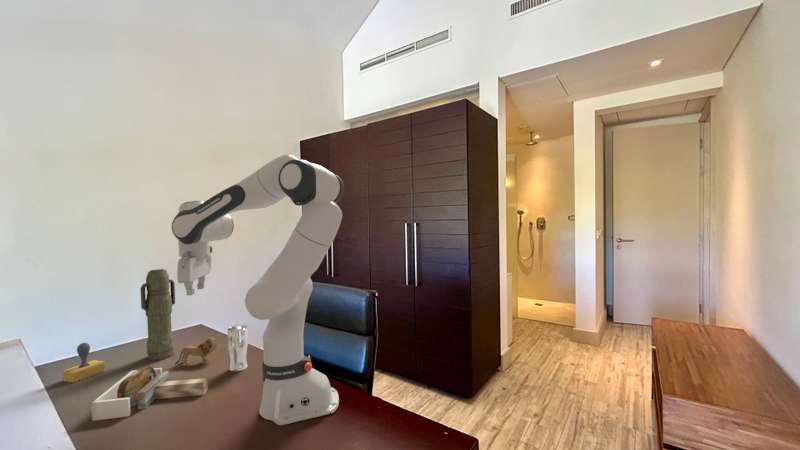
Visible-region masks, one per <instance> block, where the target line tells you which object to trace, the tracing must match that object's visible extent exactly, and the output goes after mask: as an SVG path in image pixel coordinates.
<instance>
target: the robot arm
mask: <svg viewBox="0 0 800 450" xmlns="http://www.w3.org/2000/svg"><path fill="white" fill-rule="evenodd" d="M344 193H345V184H344V181H343V180H342V179H341V177H340V176H339V175H338V174H336V172H333V171H330V170H328V169H327V168H325V167H324V166H322V165H319V164H316V163H313V162H310V161H307V160H306V159H299V158H297V157H296V156H294V155H292V154H283V155H280V156H278V157H275V158H273V159H271V161H269V162H267V163H265V164H263V166H261V167H259V168H258V169H257V170H256V171H254V172H253V173H252V174H250V175H248V176H247V177H245V178H243V179H242V180H240V181H239V182H236V183H234V184H232V185H231V186H229V187H227V188H225V189H223V190H222V191H220V192H218V193H216V194H214V195H213V196H212V197H210V198H208V199H207V200H205V201H202V200H192V201H191V200H190V201H186V202H183V203H181V204H180V205H179V208H178V212H177V214H176V215H175V216H174V218H173V221H172V222H171V231H172V234H173V236H174V237H175V239H177V240H178V243H177V244H178V257H180V258H179V260H178V261H177V270H176V272H177V273H176V274H177V275H176V278H177V279H176V280H177V282H178V284H184V287H185V290H186V296H193V295H195V288H194V286H193V285H194V281H196V280H197V287H196V288H197V290H203V289H204V288H205V281H206V275H209V274H210V273H211V269H212V253H213V251H214V249H213V246H211V245H210V242H215V241H222V240H226V239H228V238H229V237H231V236H232V234H233V231H234V227H235V225H234V224H235V223H234V220H233V217H232V216H231V215H230V214H231V213H232V214H233V213H235V212H239V211H245V210H256V209H266V208H268V207H270V206H271V207H272V206H273V205H275V204H277V203H278V202H280V201H282V200H284V199H285V198H286V197H288V198H289V199H290V201H291V202H292V203H293V204H294V205H295V206H302V207H301V208H302V212H301V213H302V214H301V215H300V218H299V220H298V221H297V223H296V225H295V227H294V229H292V230H293V231H292V232H291V235H290V236H289V237H288V239H287V242H286V243H285V245H284V247H283V249H282V250H281V252H280V253H279V255H278V256H277V257H276V258H275V259H274V260H273V262H272V263H271V264H270V266H269V267H268V268H267V269H266V271H265V272H264V273H263V275H262V276H261V277H260V278H259V279H258V280H257V282H255V283H254V284H253V285H252V286H251V287H250V288H249V289H248V291H247V292H246V294H245V298H244V305H245V308H246V311H247V312H248V314H249V315H250V316H252V317H253V318H254V319H256V320H268V323H267V326H266V328H265V330H264V332H263V335H262V343H263V345H262V346H263V360H262V363H261V377H262V382H263V389H262V397H261V402H260V407H259V410H258V413H259V415H260V417H262V418H264V419H265V420H268V421H271V422H274V423H275V424H276V425H278V426H284V425H288V424H292V423H296V422H300V421H305V420H310V419H313V418H318V417H323V416H326V415H331V414H333V413H335V412H336V411H337V409H338V407H339V404H340V397H339V392H338V391H337V389H335V388H334V387H332V386H331V383H330V381H329V378H328V376H327V375H326V374H324V373H322V372H321V371H319V370H317V369H315V368H314V367H313V363H312V358H311V355H308V356H307V355H305V354H304V329H305V321H306V317H307V316H306V315H307V309H308V303H309V301H310V300H309V299H310V297H311V294H312V292H313V290H314V289H313V287H314V284H313V283H314V282H313V280H312V279H311V277H312V275H313V274H314V273H315V272H316V271H317V270H318V269H319V267H320V266H321V263H322V262H323V260H324V258H325V256H326V254H327V253H328V251H329V249H330V248H331V246H332V244H333V242H334V240H335V239H336V236H337V233H338V231H339V228H340V226H341V222H342V220H343V211H342V209H341V207H340V206H339V205H338V204H337V203H339V202H340V201H341V199H342V198H343V196H344ZM330 413H331V414H330Z"/></svg>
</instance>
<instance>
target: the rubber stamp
mask: <svg viewBox="0 0 800 450" xmlns="http://www.w3.org/2000/svg"><path fill="white" fill-rule="evenodd" d="M90 351H91V346H90V344H89V343H87V342H82V343H80V344H78V346H77V348H76V352H77V355H78V357H80V360H81V363H80V364H78V365H76V366H73V367H70V368H67V369H64V370H63V371H62V378H63V380H65V381H69V382H68V383H70V382H75V383H77V382H80V381H83V380H86V379H88V378H90V377H94V376H96V375H98V374H101V373H103V372H106V362H105V361H103V360H97V359H93V360H90V361H87V358H88V356H89V352H90ZM82 379H83V380H82ZM63 380H62V381H63ZM79 380H80V381H79ZM65 381H64V382H65ZM76 381H77V382H76Z"/></svg>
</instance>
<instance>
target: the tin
mask: <svg viewBox="0 0 800 450" xmlns="http://www.w3.org/2000/svg"><path fill="white" fill-rule="evenodd" d="M136 370H137V371H135V372H134V373H133V374H131V375H130V376H128V377H127V378H126V379H124V380H123V381H122V382H121V384H120V385H119V388H118V391H117V398H128V397H130V408H132V407H133V408H134V407H135V406H137V405H138V397H137V393H138V392H139V391H140V390H141V389H142V388H143V387H145V386H146V385H147V384H148V383H149V382H151V381H152V380H153V379H154V378H155V377H156V375H155V371H154V369H153V367H152V366H145V367H140V368H138V369H136Z"/></svg>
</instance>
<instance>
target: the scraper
mask: <svg viewBox="0 0 800 450" xmlns="http://www.w3.org/2000/svg"><path fill="white" fill-rule="evenodd" d="M169 375H170V374H169V371H168V370H167V371H162V372H161V373H160V374H159V375H158V376H156V377H155V378H154V379H153V380H152V381H151V382H149V383H148V384H147V385H146V386H145V387H143V388H142V389H141V390H140V391H139V392H138V393H137V397H138V403H137V409H138V410H143V409H147V408H148V407H149V406H150V405H151V404H152V403H153V402H154V401H155V400H157V399H172V398H179V397H180V398H181V397H182V398H183V397H192V396H204V395H205V394H206V393H207V392H208V389H209V387H208V378H207V377H205V378H204V377H203V378H192V379H181V380H179V379H178V380H169V379H170V376H169Z"/></svg>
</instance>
